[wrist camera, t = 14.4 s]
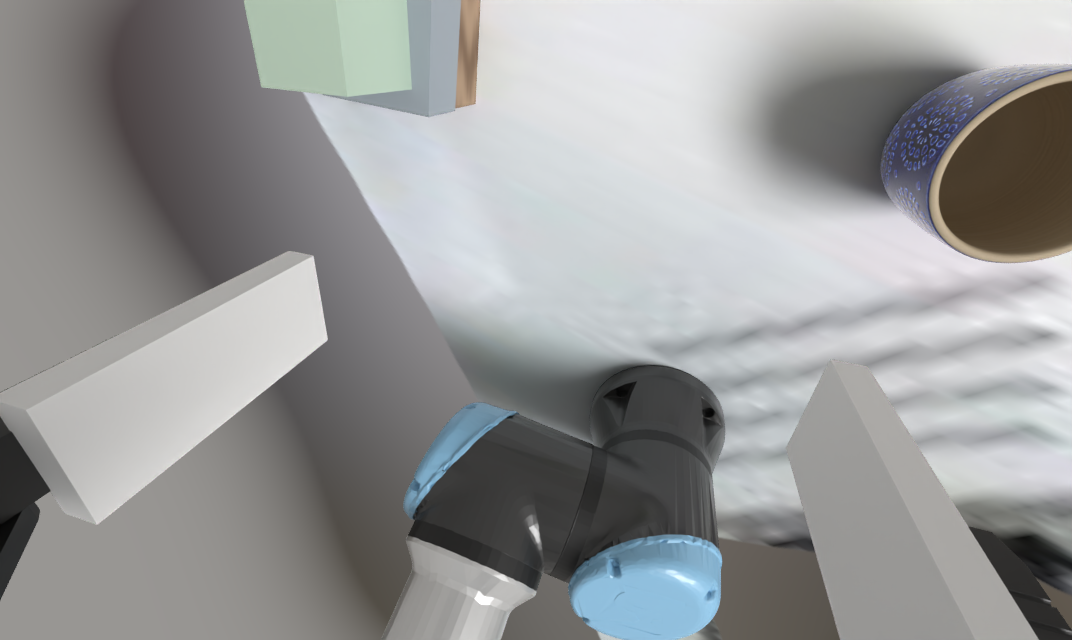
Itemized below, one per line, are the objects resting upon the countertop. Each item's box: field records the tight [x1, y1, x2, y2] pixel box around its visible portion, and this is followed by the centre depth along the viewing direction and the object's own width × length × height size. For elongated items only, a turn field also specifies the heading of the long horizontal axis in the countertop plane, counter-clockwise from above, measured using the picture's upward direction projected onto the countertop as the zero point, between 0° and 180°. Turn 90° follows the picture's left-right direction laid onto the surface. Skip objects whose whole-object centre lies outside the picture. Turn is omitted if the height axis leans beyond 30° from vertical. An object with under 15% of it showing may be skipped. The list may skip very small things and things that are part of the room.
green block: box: [244, 0, 412, 97], centre depth 30 cm, size 6×6×8 cm
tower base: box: [455, 0, 480, 108], centre depth 40 cm, size 9×9×5 cm
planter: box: [880, 64, 1072, 263], centre depth 31 cm, size 11×11×11 cm
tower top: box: [323, 0, 461, 117], centre depth 35 cm, size 9×9×5 cm
